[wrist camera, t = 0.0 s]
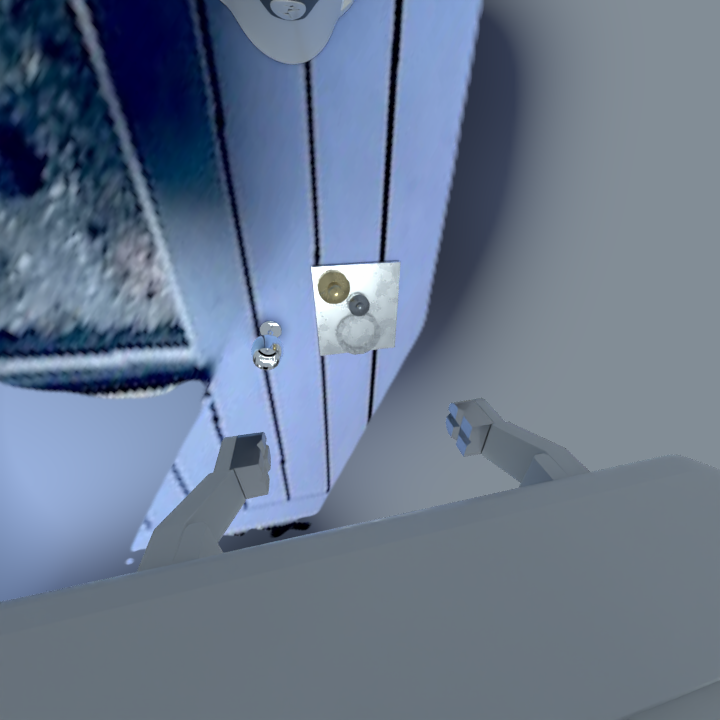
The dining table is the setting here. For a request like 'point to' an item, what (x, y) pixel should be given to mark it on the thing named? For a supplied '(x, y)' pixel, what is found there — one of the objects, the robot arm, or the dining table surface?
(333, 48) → the dining table surface
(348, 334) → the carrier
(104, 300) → the dining table surface
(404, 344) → the dining table surface
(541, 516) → the robot arm
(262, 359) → the wineglass
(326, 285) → the brass flanged cylinder
